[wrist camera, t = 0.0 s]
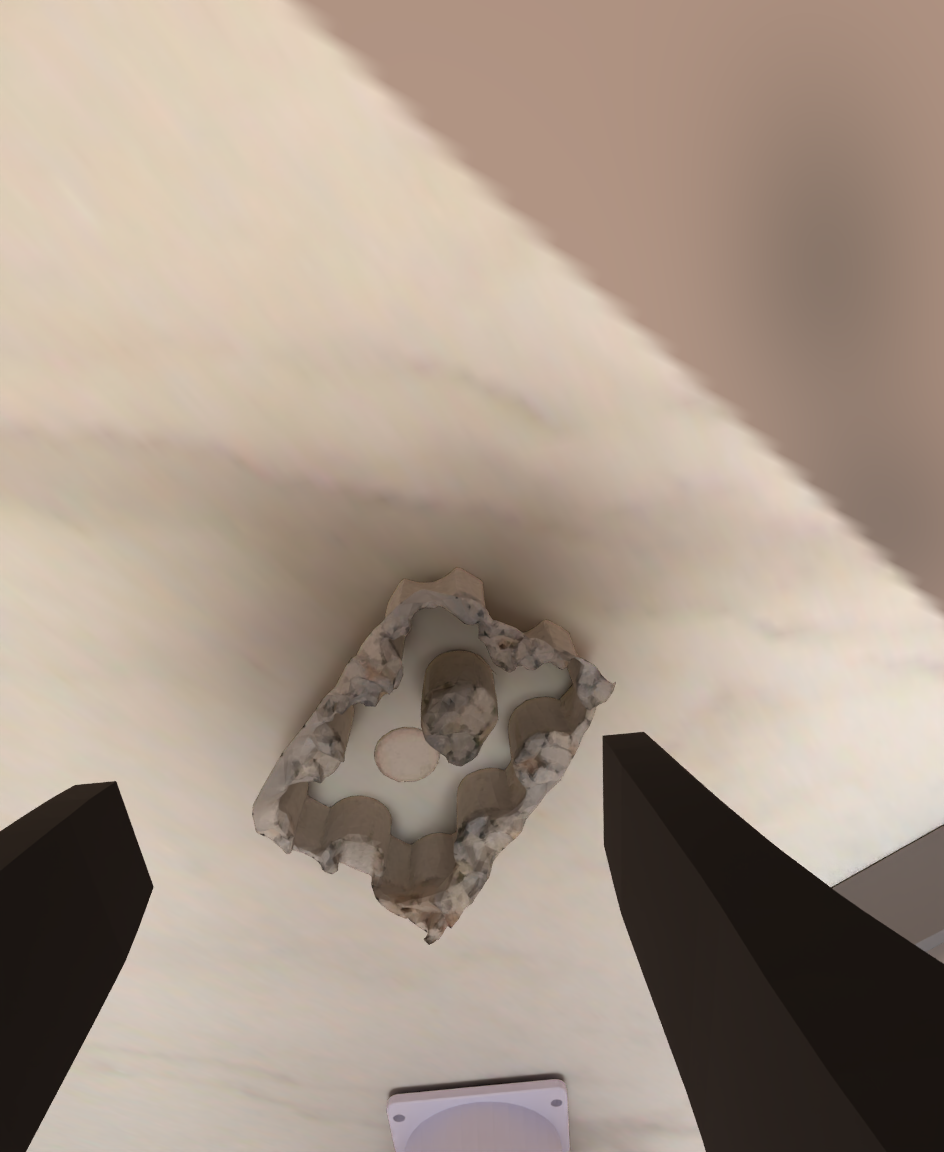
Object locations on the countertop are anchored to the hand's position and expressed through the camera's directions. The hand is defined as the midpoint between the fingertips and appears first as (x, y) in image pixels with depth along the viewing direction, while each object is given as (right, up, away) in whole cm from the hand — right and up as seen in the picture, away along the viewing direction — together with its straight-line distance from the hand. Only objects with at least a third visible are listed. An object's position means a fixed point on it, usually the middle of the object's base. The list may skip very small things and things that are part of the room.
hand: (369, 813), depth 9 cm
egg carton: (0, -1, +12) cm, 12 cm away
